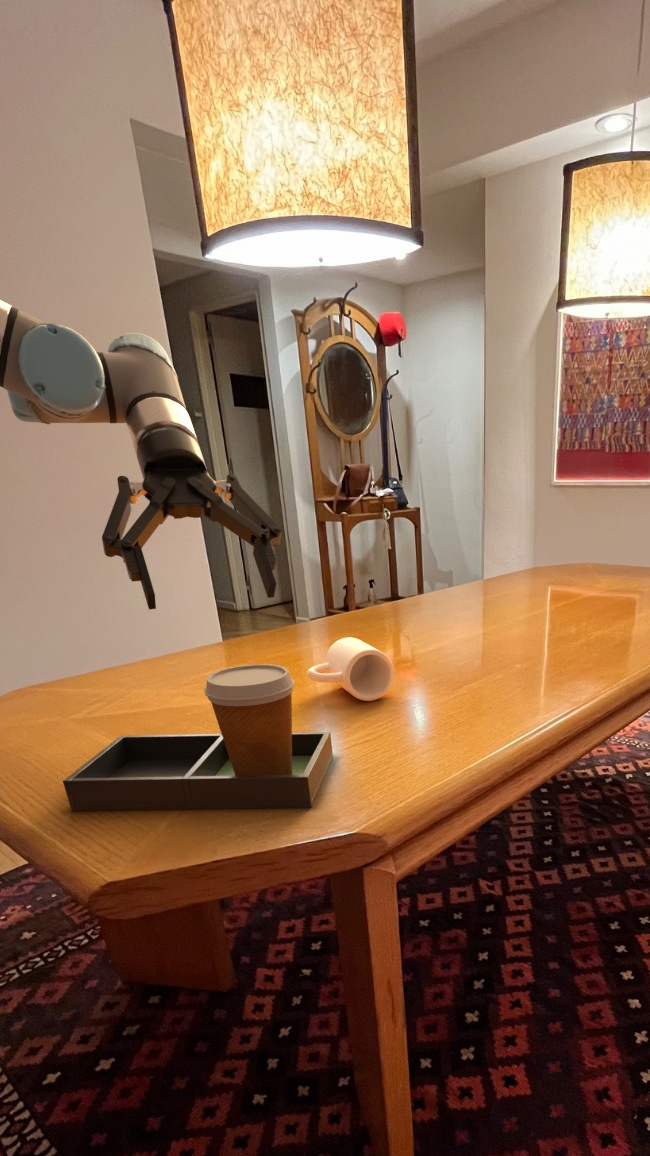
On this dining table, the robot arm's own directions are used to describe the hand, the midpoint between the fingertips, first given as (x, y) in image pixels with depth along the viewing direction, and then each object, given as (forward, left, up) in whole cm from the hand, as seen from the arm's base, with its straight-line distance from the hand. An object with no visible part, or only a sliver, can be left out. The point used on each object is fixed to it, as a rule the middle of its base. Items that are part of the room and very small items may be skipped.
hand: (214, 596), depth 78 cm
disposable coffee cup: (+6, -10, -19) cm, 22 cm away
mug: (+10, +23, -20) cm, 32 cm away
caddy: (-1, -10, -20) cm, 22 cm away
